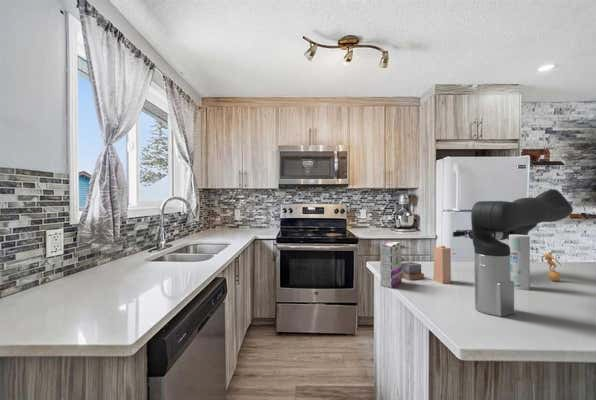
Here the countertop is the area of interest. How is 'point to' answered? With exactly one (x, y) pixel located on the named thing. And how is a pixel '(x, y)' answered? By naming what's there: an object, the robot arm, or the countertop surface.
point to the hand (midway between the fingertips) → (461, 235)
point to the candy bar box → (390, 264)
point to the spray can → (520, 261)
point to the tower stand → (411, 271)
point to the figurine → (553, 274)
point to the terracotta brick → (442, 264)
